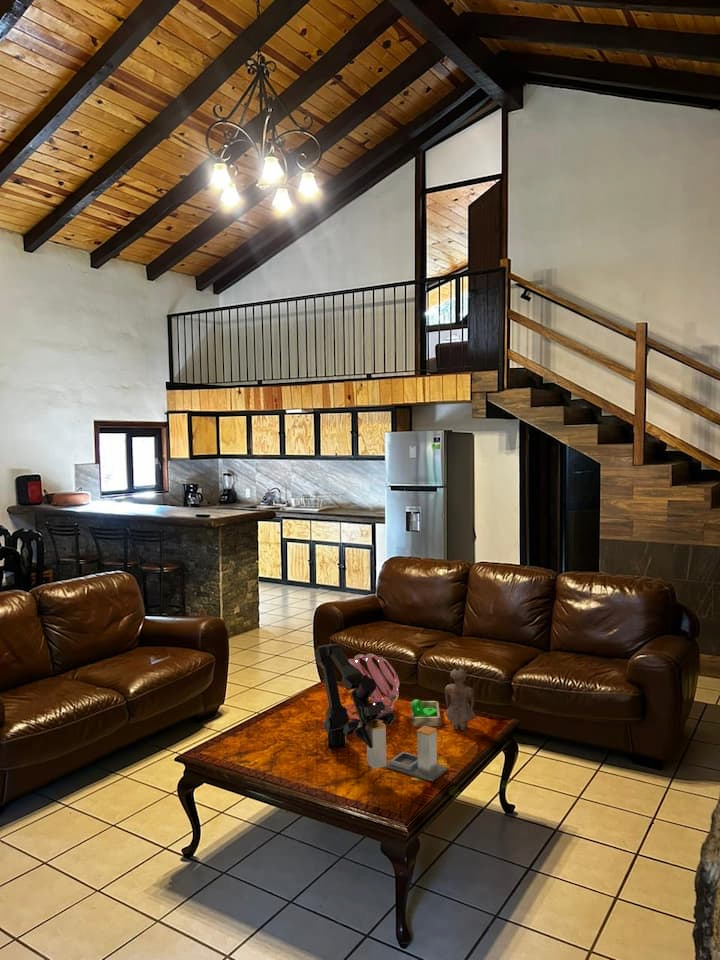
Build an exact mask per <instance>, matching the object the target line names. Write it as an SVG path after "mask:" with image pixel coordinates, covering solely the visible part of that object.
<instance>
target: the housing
mask: <svg viewBox="0 0 720 960" xmlns="http://www.w3.org/2000/svg"><path fill="white" fill-rule="evenodd" d="M416 736H417V737H416V739H417V742H416V743H417V744H416V745H417V747H416V748H417V755H416V754H413V753H409V752H407V751H402V752H400V753H399V754H397V755H395V756H394V757H393V758H392V759H390V760H389V761H388V762H386V766H385V768H387V769H390V770H393V771H396V772H398V773H403V774H406V775H409V776H412V777H414V778H418V779H420V780H424V781H427V780H428V782H430V781H432V782H431V783H434V782H435V781H436V780H437V779H438V778H440V777H441V776H442V775H444V774H445V773H446V772H447V770H448V768H447V766H443V765H440V764H438V749H437V748H438V747H437V746H438V745H437V743H438V741H437V740H438V739H437V728H435V727H433V726H425V725H424V726H420V728H418V729H417V730H416ZM445 771H446V772H445ZM444 772H445V773H444ZM441 774H442V775H441ZM440 775H441V776H440ZM439 776H440V777H439ZM435 779H436V780H435ZM434 780H435V781H434ZM433 781H434V782H433Z"/></svg>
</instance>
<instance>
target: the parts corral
mask: <svg viewBox="0 0 720 960" xmlns="http://www.w3.org/2000/svg"><path fill="white" fill-rule="evenodd" d="M413 701H414V700H411V701H410V706H411V705H412V702H413ZM421 701H422V703H423V709H424V708H426V707H432V708H435V709H436V710H437V714H436V716H433V717H414V711H411V710H410V712H411V713H410V715H411V727H423V726H424V725H425V726H428V727H441V713H440V706H439V705H440V704H439V700H421Z"/></svg>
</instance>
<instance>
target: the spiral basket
mask: <svg viewBox="0 0 720 960" xmlns="http://www.w3.org/2000/svg"><path fill="white" fill-rule="evenodd" d="M373 658H374V659H375V661H376V662H377V663H378V665H379V668H378V666H377V664H375V663H374V661H373ZM360 659H362V660H363V661H365V663H366V666H367V669H368V671H367V670H366V668H365V667H364V666H363V665H362V664H361V662H360ZM348 661H349V662H350V664H351V665H352V666H353V667H355V668H357V669H359V670H360V671H361V673H362V674H363V675H367V676H368V677H369V678H371V679H373V680H374V681H375V682H376V689H375V691H374V692H373V693H372V695H371V696H370V697H369V699H371V700H372V702H373V705H374V706H375V705H376V703H377V702H380V701H383V704H384V706H385V710H382V711H381V714H378V716H377V717H376V718H379V717H381V716H382V714H383V713H386V712H391V711H392V709H393V708H394V705H395V701H397V700H398V698H399V693H400V692H399V688H400V680H399V676H398V673H397V672H396V670H395V669H394V667H393V666H392V665H391V663H390V662H389V661H388V660H387V659H385V658H384V657H382V656H377V655H376V654H374V653H368V654H366V655H365V654H359V653H358V654H357V655H355V656H354V657H353V658H349V659H348ZM388 667H389V668H388ZM392 673H393V674H392ZM387 681H388V682H387ZM388 683H389V684H390V685H391V686H392V689H391V688H390V685H389V684H388ZM355 689H356V688H355ZM355 689H350V691H351V692H352V691H354V690H355ZM379 689H380V690H379ZM380 691H381V692H382V694H384V696H385V697H383V696H382V694H381V692H380ZM387 703H388V704H387ZM345 708H346V709H347V714H348V716H349V717H351V718H353V719H354V720H357V721H360V719H359V716H356V715H354V714H353V713H351V712H349V710H348V709H350V710H354V711H356V708H355V706H351V705H350V706H349V705H345Z"/></svg>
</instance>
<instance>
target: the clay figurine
mask: <svg viewBox="0 0 720 960" xmlns="http://www.w3.org/2000/svg"><path fill="white" fill-rule="evenodd" d="M449 675H450V678H451V679H452V680H453V682H454V683H450V684H447V685H446V686H445V688H444V696H445V697H444V698H445V704H446V707H447V709H446V711H445V716H446V718H447V719H448V720H449V722H450V723H451V724H452V725H453V726H452V729H456V730H458V729H460V730H461V731H466V730H467V729H468V728H469V726H468V725H467V724H468V721H471V720H473V719H475V718H476V714H475V712H474V706H475V692H474V689H473V688H472V687H470V686H468V685H465V684H464V683H465V681H466V679H467V674H466V671H465V670H464V669H462V668H461V667H460V668H459V667H456V668H454V669H452V670H451V671H450V674H449ZM459 727H460V728H459Z"/></svg>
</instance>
